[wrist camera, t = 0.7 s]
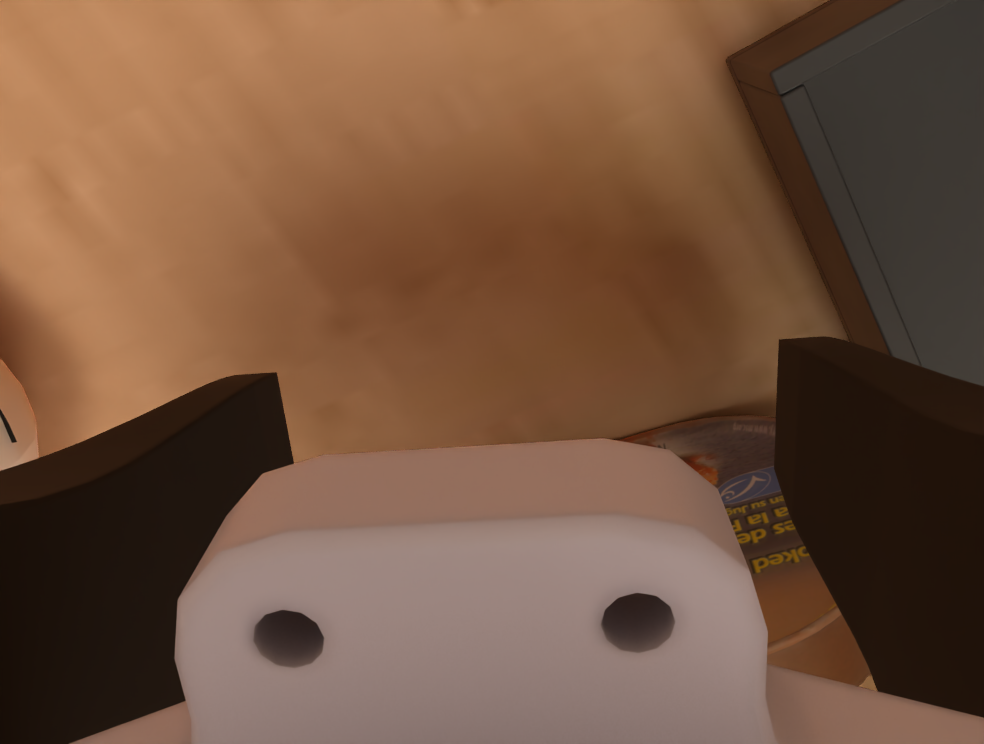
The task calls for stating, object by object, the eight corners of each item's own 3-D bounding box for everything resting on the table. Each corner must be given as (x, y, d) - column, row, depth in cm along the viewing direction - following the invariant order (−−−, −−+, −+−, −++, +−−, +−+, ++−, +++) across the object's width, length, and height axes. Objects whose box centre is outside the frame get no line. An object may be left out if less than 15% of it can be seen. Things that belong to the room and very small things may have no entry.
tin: (819, 380, 23) (969, 574, 15) (842, 483, 24) (993, 712, 16) (283, 533, 25) (177, 769, 18) (327, 620, 26) (245, 879, 19)
